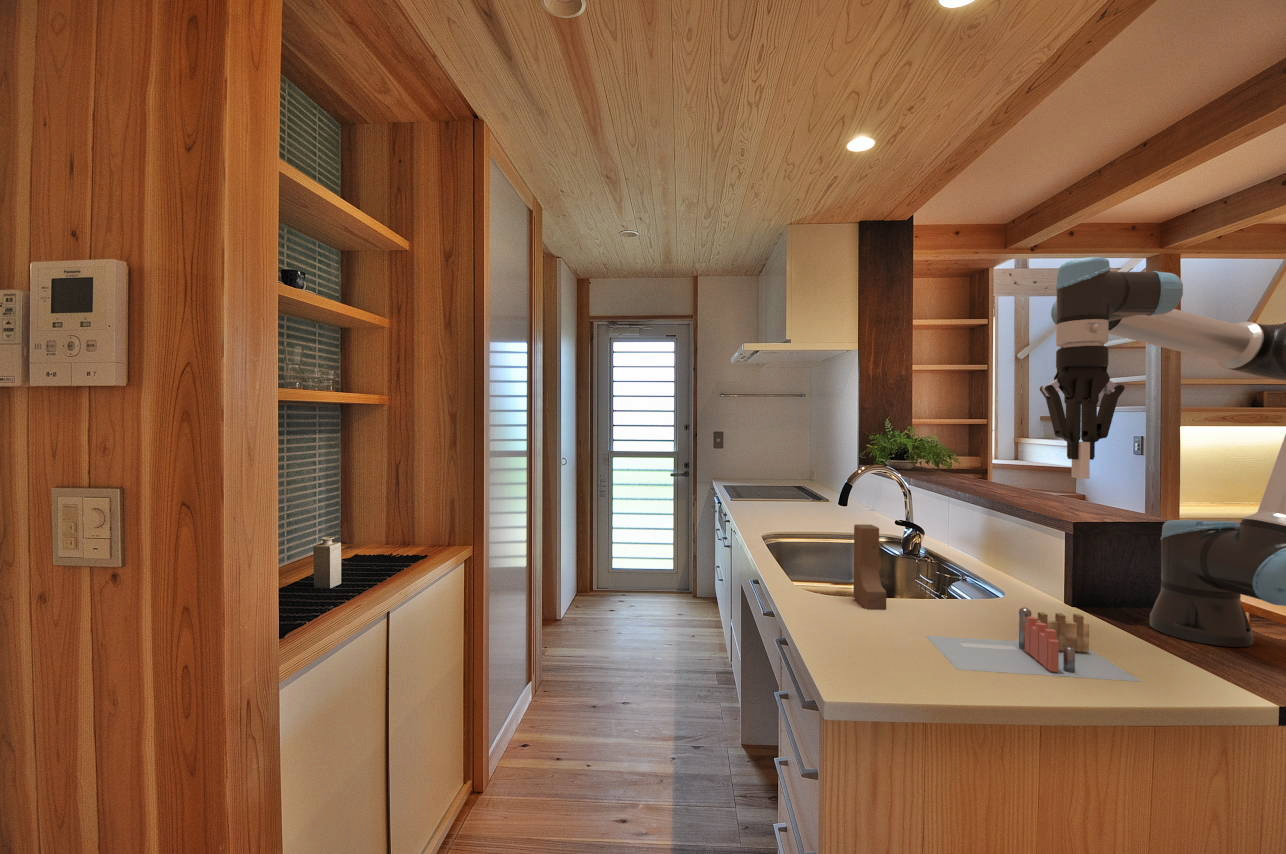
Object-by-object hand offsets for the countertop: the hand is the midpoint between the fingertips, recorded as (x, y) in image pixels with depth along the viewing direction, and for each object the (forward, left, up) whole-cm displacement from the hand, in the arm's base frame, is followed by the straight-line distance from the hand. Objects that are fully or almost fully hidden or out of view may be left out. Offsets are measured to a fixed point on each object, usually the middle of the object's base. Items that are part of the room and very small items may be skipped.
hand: (1080, 477), depth 104 cm
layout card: (+10, +2, -32) cm, 34 cm away
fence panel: (+8, +4, -32) cm, 33 cm away
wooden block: (+30, -26, -33) cm, 51 cm away
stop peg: (+5, +8, -32) cm, 33 cm away
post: (+8, -2, -32) cm, 33 cm away
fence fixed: (+2, -2, -32) cm, 32 cm away
